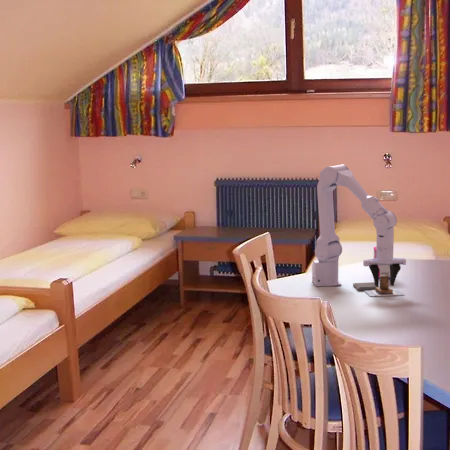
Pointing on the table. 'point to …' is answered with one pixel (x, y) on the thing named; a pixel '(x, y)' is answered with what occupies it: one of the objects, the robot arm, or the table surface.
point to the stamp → (384, 285)
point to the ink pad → (365, 286)
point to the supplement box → (382, 267)
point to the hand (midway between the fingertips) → (384, 285)
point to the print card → (374, 293)
